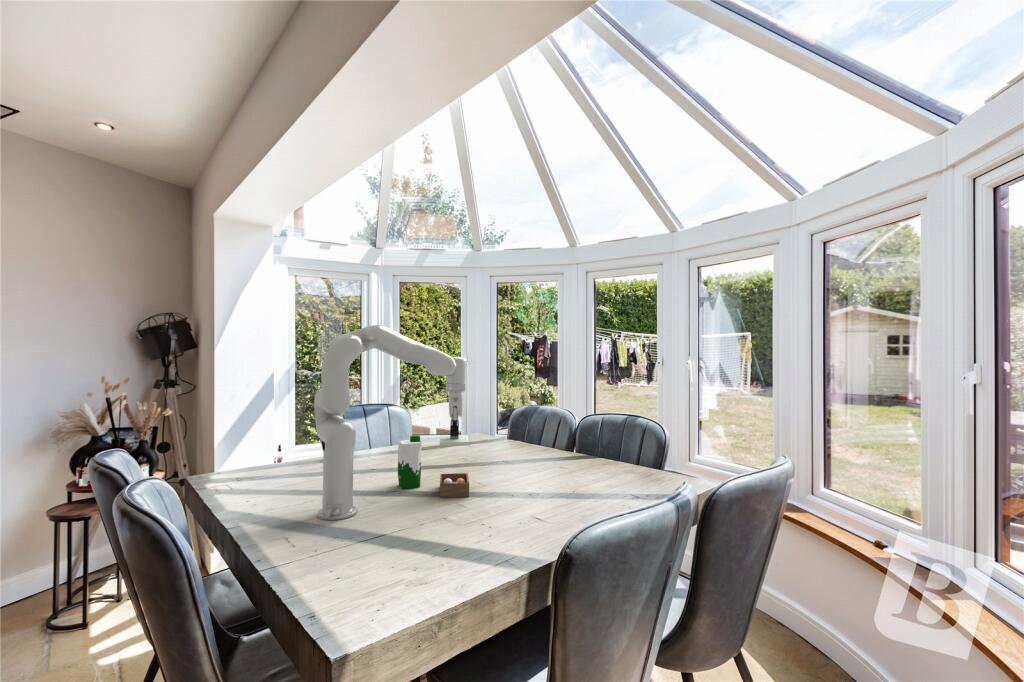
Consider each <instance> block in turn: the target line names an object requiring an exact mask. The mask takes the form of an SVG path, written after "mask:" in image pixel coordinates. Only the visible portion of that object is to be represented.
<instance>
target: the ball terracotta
mask: <svg viewBox="0 0 1024 682" xmlns="http://www.w3.org/2000/svg"><path fill="white" fill-rule="evenodd" d="M456 482H457V483H465V480H464V479H462V478H459V479H457V481H456Z"/></svg>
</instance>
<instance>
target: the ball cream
mask: <svg viewBox="0 0 1024 682" xmlns="http://www.w3.org/2000/svg"><path fill="white" fill-rule="evenodd" d="M445 483H452V480H451V479H449V478H447V479H445V480H444V482H443V484H445Z"/></svg>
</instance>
